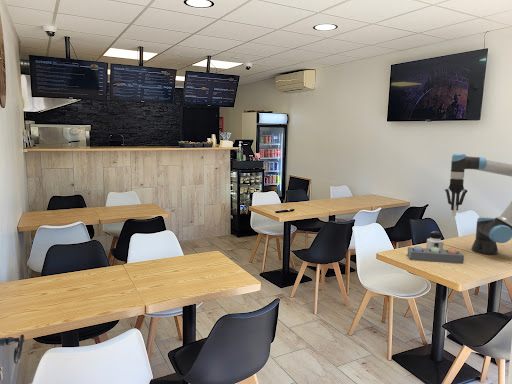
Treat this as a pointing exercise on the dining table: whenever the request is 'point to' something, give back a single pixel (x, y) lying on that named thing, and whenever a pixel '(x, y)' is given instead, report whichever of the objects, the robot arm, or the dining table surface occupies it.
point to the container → (435, 240)
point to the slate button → (418, 248)
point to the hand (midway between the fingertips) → (454, 215)
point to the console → (435, 256)
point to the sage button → (435, 249)
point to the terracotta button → (452, 251)
